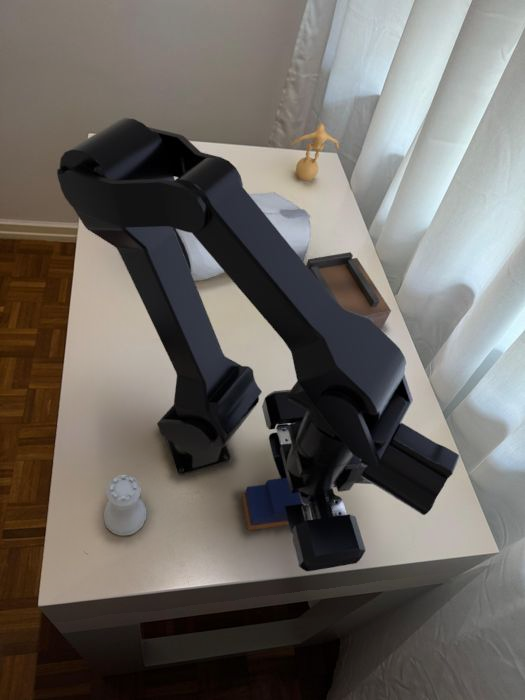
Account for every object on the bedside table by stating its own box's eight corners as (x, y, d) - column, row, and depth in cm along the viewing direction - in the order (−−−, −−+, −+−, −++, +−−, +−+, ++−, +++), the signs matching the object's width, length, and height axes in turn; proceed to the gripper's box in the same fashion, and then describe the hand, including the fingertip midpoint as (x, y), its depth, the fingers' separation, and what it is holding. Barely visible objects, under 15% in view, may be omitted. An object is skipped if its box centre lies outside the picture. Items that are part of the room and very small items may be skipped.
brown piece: (382, 328, 85) (395, 303, 81) (319, 342, 82) (329, 317, 77) (349, 275, 91) (360, 249, 87) (289, 286, 87) (297, 260, 83)
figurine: (325, 173, 107) (342, 114, 97) (329, 194, 103) (348, 134, 94) (281, 168, 105) (295, 108, 96) (284, 189, 102) (298, 128, 92)
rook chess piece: (131, 489, 64) (130, 457, 58) (154, 520, 63) (155, 490, 56) (95, 513, 62) (90, 482, 56) (119, 545, 60) (116, 517, 54)
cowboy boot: (158, 258, 75) (329, 241, 83) (120, 122, 88) (272, 119, 96) (155, 301, 83) (311, 282, 91) (121, 171, 96) (261, 164, 104)
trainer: (315, 487, 68) (324, 471, 65) (324, 519, 66) (333, 505, 63) (241, 496, 66) (246, 481, 63) (247, 530, 64) (253, 516, 60)
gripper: (443, 524, 50) (383, 576, 62) (376, 352, 60) (336, 425, 73) (322, 543, 47) (285, 593, 59) (274, 359, 58) (251, 434, 70)
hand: (292, 503), depth 65 cm, fingers closed on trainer, 4 cm apart
